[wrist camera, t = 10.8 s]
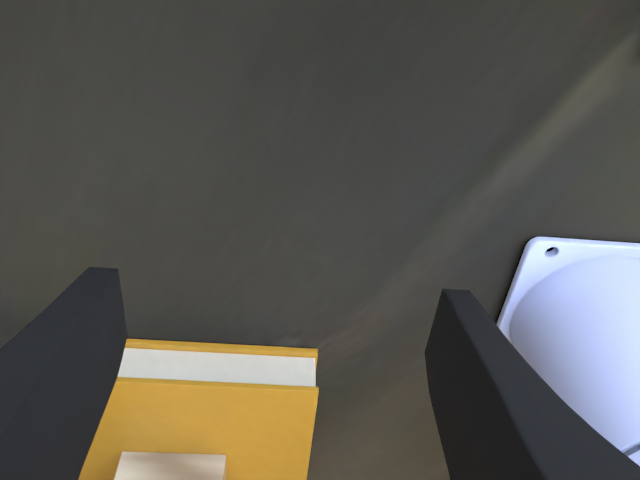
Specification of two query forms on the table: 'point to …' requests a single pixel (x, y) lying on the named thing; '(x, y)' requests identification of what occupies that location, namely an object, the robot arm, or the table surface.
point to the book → (211, 407)
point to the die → (170, 466)
